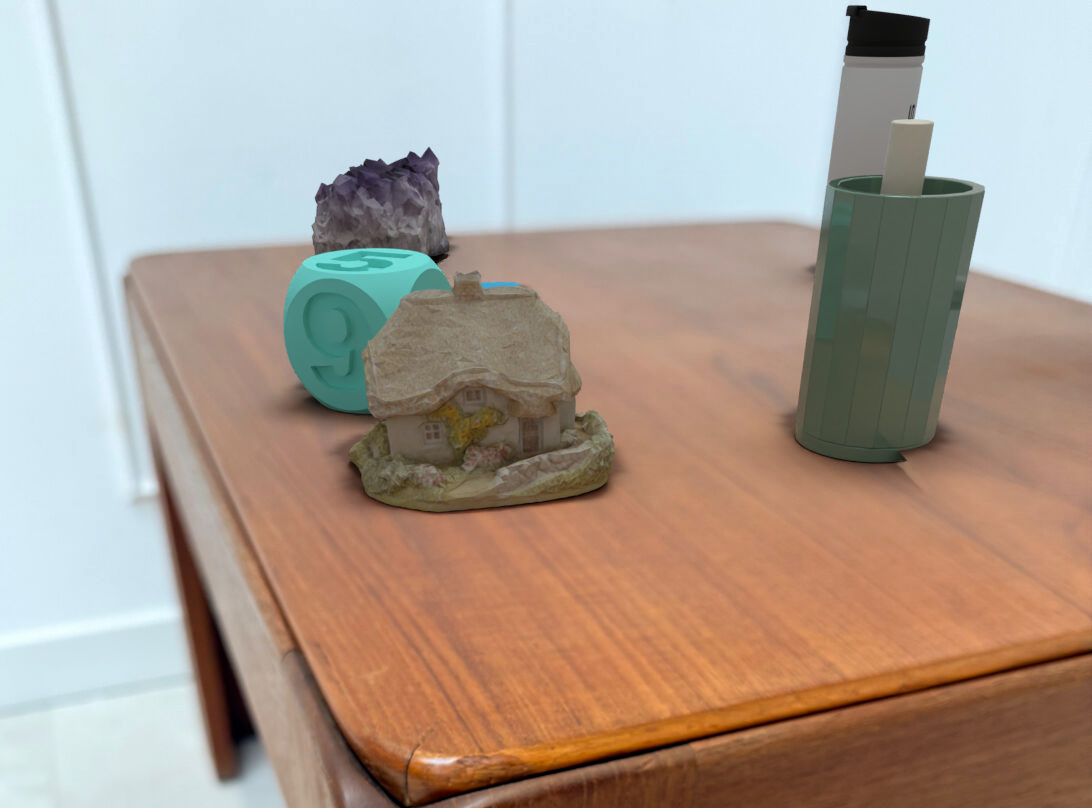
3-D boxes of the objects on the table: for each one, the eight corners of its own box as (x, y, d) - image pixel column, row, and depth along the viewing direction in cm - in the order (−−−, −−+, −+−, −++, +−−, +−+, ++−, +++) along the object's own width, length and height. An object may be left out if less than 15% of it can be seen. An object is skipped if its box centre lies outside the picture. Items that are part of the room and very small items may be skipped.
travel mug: (800, 273, 98) (833, 4, 87) (868, 269, 99) (910, 3, 88) (827, 288, 93) (867, 5, 82) (899, 284, 94) (948, 4, 83)
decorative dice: (461, 384, 72) (456, 252, 67) (405, 421, 66) (394, 279, 61) (355, 371, 74) (342, 244, 70) (291, 406, 68) (272, 269, 63)
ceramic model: (339, 516, 54) (314, 302, 48) (353, 440, 63) (334, 252, 57) (622, 506, 54) (631, 294, 49) (596, 432, 64) (601, 246, 58)
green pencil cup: (904, 416, 66) (950, 173, 58) (953, 460, 59) (1011, 195, 52) (779, 420, 65) (809, 176, 58) (815, 465, 59) (854, 198, 51)
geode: (355, 239, 114) (359, 130, 108) (463, 258, 113) (473, 149, 108) (291, 272, 97) (292, 145, 91) (417, 294, 96) (426, 168, 91)
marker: (880, 415, 63) (933, 117, 55) (899, 434, 60) (957, 123, 52) (826, 417, 63) (870, 118, 54) (842, 436, 60) (891, 125, 52)
